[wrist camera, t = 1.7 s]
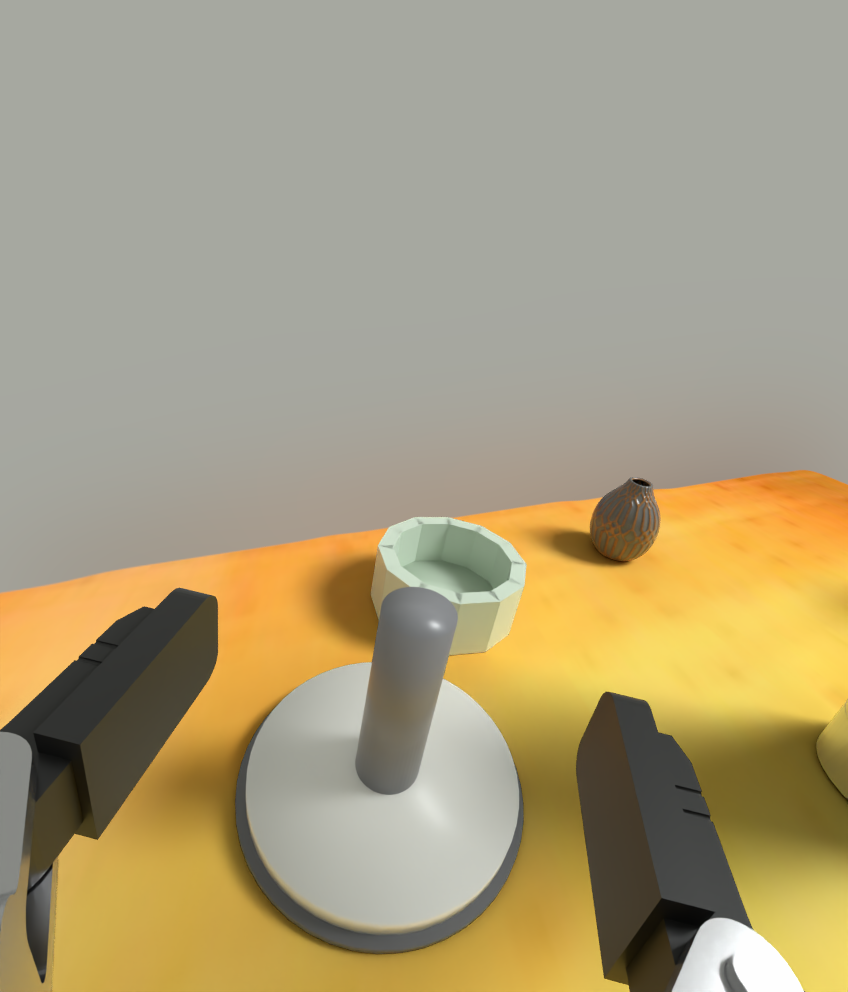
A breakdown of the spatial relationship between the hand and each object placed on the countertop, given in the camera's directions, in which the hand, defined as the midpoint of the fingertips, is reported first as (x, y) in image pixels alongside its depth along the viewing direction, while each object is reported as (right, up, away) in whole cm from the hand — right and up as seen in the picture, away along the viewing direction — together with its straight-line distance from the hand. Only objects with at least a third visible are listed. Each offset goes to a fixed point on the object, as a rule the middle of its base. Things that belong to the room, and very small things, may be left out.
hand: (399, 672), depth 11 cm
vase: (+22, -3, +47) cm, 52 cm away
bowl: (+2, -6, +34) cm, 34 cm away
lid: (-2, -12, +19) cm, 22 cm away
